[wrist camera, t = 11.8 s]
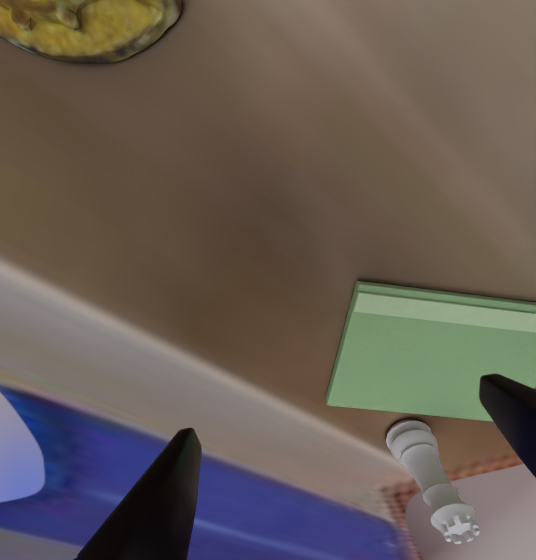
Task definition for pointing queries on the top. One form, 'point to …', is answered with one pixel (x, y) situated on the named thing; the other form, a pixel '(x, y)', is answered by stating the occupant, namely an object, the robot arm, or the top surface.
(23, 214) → the top surface
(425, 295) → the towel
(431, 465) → the rook chess piece
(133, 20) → the olive lumpy piece
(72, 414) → the top surface
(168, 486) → the robot arm
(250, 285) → the top surface
